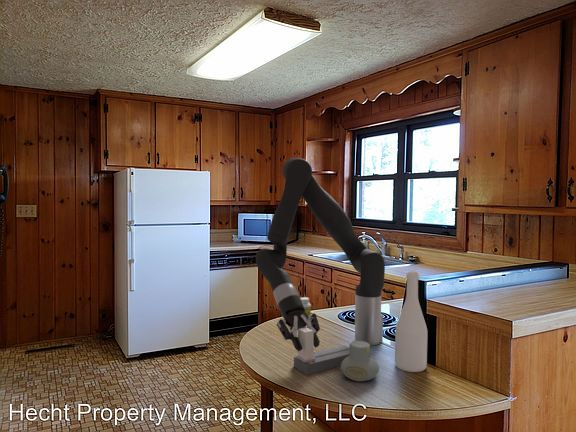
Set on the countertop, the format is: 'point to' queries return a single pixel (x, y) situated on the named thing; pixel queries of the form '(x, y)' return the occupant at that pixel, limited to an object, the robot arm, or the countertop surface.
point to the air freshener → (359, 363)
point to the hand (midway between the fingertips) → (308, 347)
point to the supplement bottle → (306, 305)
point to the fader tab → (306, 345)
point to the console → (323, 360)
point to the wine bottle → (411, 331)
